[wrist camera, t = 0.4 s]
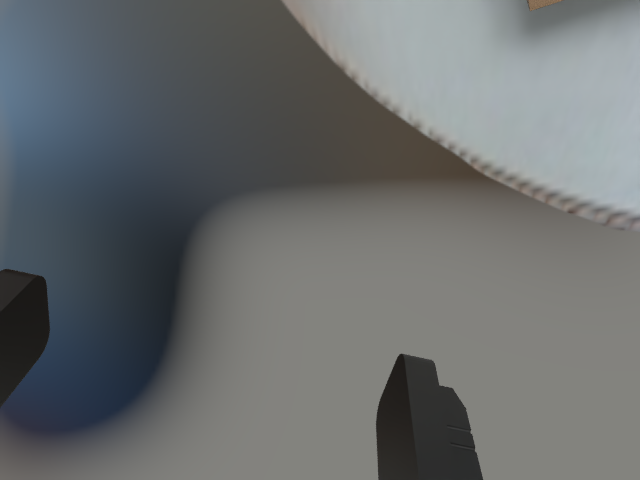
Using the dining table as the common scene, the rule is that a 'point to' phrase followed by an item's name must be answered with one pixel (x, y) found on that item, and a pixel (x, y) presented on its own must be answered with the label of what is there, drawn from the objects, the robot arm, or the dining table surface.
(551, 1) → the wooden board
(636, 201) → the dining table surface
